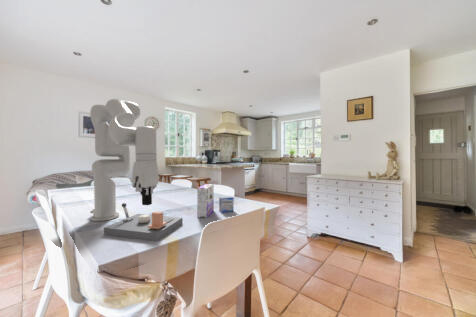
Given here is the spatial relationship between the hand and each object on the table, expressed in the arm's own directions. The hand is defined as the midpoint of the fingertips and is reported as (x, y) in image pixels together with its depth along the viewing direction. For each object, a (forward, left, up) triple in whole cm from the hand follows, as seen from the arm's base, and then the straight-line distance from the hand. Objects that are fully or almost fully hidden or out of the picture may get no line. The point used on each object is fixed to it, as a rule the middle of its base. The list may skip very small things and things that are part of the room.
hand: (146, 204), depth 77 cm
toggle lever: (-19, +11, -11) cm, 25 cm away
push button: (-10, +11, -11) cm, 19 cm away
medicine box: (+19, +47, -15) cm, 53 cm away
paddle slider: (0, +7, -11) cm, 13 cm away
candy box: (+9, +39, -15) cm, 43 cm away
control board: (-9, +11, -15) cm, 21 cm away
